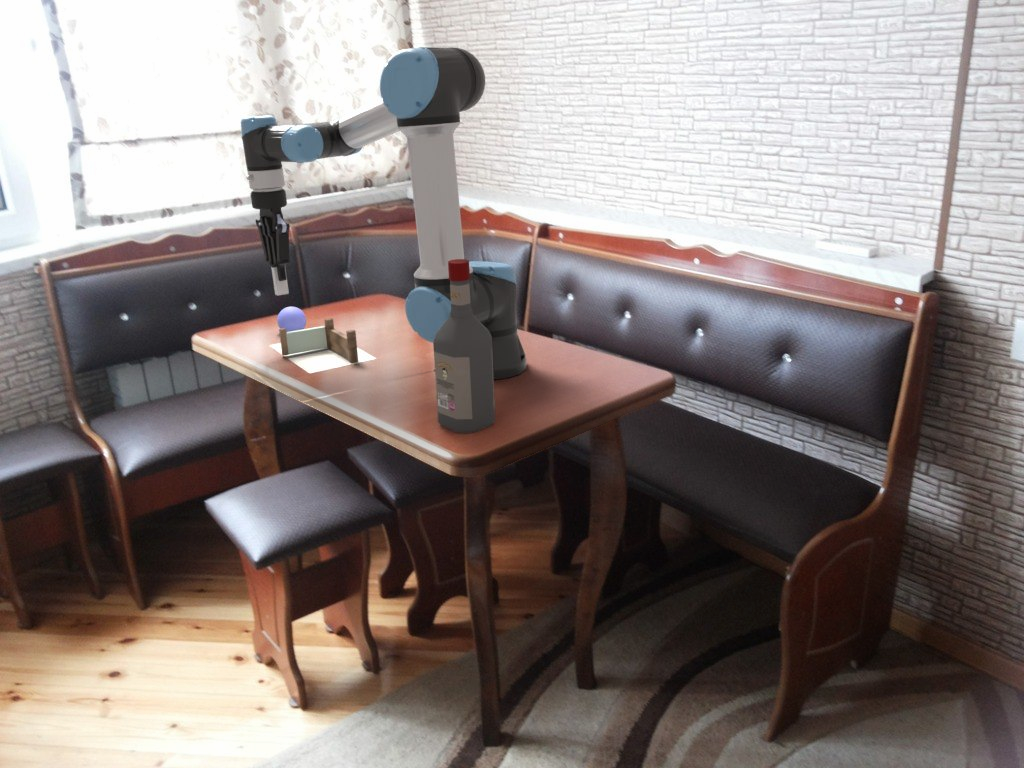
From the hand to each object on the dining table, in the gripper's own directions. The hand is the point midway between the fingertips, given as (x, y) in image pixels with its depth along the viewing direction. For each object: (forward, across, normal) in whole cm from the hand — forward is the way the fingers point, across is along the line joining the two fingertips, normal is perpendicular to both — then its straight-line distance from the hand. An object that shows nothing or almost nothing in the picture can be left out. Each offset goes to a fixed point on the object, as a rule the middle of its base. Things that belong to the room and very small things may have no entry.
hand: (282, 293), depth 199 cm
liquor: (+15, +64, +5) cm, 66 cm away
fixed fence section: (+14, +12, +7) cm, 20 cm away
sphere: (+14, -13, +7) cm, 20 cm away
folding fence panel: (+13, +5, +1) cm, 14 cm away
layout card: (+14, +7, +5) cm, 16 cm away
